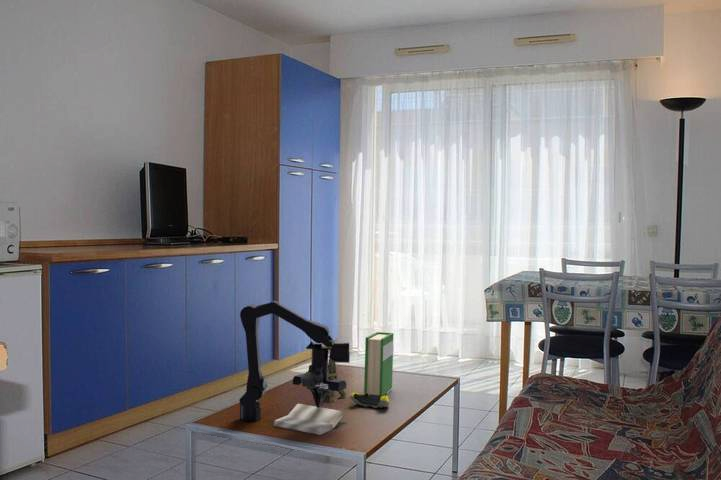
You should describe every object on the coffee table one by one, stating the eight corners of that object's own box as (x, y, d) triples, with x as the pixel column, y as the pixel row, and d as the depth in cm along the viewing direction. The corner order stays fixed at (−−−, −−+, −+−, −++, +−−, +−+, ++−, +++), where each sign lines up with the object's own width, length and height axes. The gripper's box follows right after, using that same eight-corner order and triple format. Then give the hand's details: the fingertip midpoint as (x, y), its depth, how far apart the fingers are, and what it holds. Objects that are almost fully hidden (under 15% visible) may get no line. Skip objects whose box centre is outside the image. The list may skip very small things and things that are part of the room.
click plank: (288, 420, 225) (287, 415, 225) (298, 407, 231) (297, 403, 230) (333, 428, 217) (332, 424, 216) (343, 415, 222) (342, 411, 222)
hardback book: (381, 398, 262) (383, 338, 262) (363, 397, 264) (365, 337, 264) (391, 389, 279) (393, 333, 279) (375, 388, 281) (376, 332, 281)
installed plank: (274, 425, 218) (274, 420, 218) (287, 420, 225) (287, 415, 225) (320, 434, 210) (320, 429, 210) (332, 429, 216) (332, 423, 216)
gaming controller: (385, 412, 242) (394, 406, 251) (385, 397, 242) (395, 392, 251) (348, 407, 248) (358, 401, 257) (348, 393, 248) (359, 387, 257)
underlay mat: (272, 427, 218) (272, 425, 218) (300, 416, 233) (300, 414, 233) (320, 437, 209) (320, 435, 209) (347, 424, 224) (347, 423, 224)
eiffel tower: (349, 397, 263) (350, 335, 263) (334, 402, 254) (336, 338, 254) (327, 393, 269) (328, 332, 269) (312, 398, 260) (314, 335, 260)
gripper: (283, 362, 223) (282, 408, 223) (330, 368, 214) (329, 416, 214) (302, 357, 233) (300, 401, 233) (347, 363, 224) (346, 409, 224)
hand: (318, 407), depth 225 cm, fingers closed
